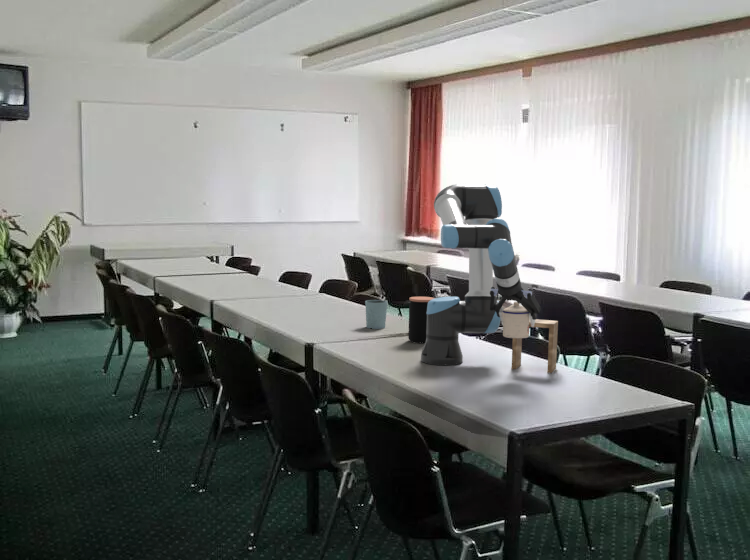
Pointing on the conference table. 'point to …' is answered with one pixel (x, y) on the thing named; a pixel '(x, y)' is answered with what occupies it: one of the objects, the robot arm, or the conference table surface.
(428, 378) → the conference table surface
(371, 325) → the light blue cup
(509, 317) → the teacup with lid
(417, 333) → the coffee jar
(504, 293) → the robot arm
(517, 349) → the wooden arch
